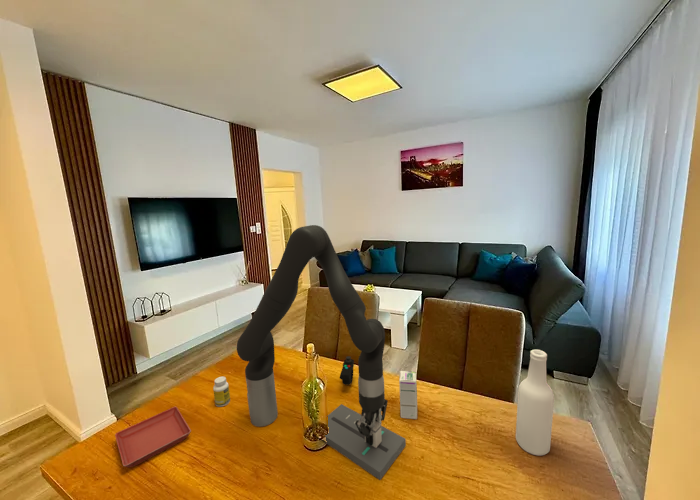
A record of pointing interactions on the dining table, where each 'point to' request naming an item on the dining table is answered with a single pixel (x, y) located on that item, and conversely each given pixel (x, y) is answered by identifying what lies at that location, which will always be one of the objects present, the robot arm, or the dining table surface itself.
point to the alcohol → (535, 407)
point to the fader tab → (376, 434)
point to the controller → (347, 371)
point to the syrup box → (408, 394)
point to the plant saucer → (151, 436)
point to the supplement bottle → (221, 392)
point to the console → (362, 442)
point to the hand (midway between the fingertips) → (373, 439)
